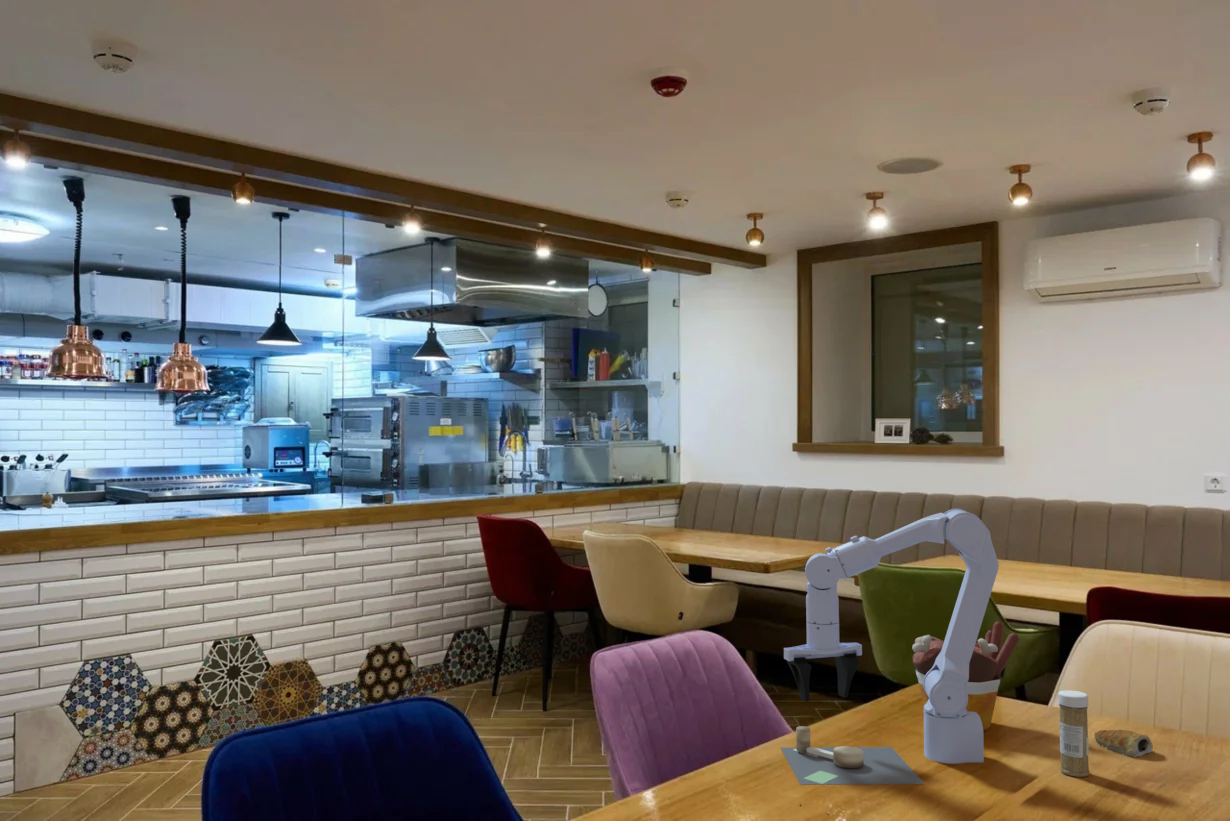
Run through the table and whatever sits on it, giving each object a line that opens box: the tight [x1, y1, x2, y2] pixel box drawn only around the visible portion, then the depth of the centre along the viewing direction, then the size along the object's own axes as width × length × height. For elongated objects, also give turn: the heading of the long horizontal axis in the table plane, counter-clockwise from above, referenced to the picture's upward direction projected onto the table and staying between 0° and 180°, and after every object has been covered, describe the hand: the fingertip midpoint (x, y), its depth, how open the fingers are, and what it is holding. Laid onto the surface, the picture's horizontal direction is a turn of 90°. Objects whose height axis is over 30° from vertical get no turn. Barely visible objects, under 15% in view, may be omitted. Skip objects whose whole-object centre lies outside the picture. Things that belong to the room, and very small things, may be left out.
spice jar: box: [1057, 689, 1090, 778], centre depth 160 cm, size 5×5×14 cm
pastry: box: [1093, 729, 1154, 758], centre depth 173 cm, size 9×7×4 cm
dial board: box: [780, 746, 925, 786], centre depth 161 cm, size 20×18×1 cm
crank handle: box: [795, 725, 864, 768], centre depth 164 cm, size 13×5×4 cm, turn 45°
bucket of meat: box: [911, 621, 1020, 732], centre depth 187 cm, size 20×16×20 cm
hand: (823, 698), depth 169 cm, fingers open, 7 cm apart
